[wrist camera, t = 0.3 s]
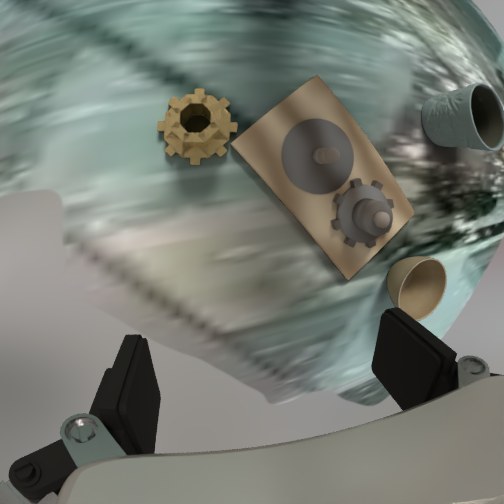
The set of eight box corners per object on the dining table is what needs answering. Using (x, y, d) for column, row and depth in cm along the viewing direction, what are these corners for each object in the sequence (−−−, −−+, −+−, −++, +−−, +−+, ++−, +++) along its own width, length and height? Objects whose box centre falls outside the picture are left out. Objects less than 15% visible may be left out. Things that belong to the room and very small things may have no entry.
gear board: (313, 77, 35) (334, 61, 28) (409, 211, 42) (438, 219, 35) (230, 144, 36) (235, 138, 29) (344, 276, 43) (366, 295, 36)
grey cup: (414, 138, 39) (468, 136, 28) (419, 82, 37) (469, 69, 25) (454, 157, 41) (505, 161, 30) (458, 105, 38) (507, 100, 27)
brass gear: (201, 76, 33) (200, 58, 26) (252, 129, 36) (262, 121, 29) (143, 127, 34) (130, 119, 27) (194, 180, 36) (192, 183, 30)
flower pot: (423, 288, 47) (447, 303, 40) (378, 312, 46) (401, 332, 39) (417, 237, 44) (445, 248, 37) (369, 259, 43) (394, 275, 36)
